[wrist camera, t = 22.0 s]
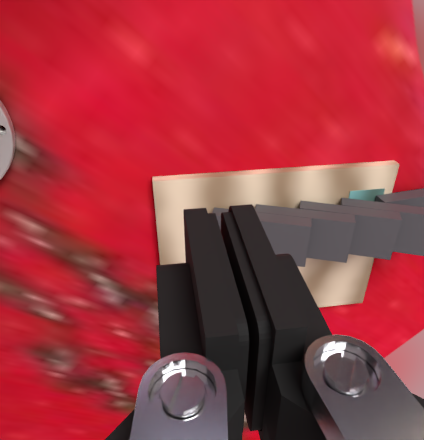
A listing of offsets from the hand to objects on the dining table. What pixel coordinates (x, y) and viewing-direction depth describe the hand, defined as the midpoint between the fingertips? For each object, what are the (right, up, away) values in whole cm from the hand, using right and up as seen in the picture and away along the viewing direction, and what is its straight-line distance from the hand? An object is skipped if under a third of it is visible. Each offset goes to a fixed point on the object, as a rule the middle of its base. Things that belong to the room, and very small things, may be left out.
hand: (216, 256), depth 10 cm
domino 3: (+9, 0, +34) cm, 35 cm away
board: (+7, -2, +37) cm, 38 cm away
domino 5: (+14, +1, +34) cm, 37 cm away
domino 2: (+4, 0, +33) cm, 34 cm away
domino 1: (0, 0, +33) cm, 33 cm away
